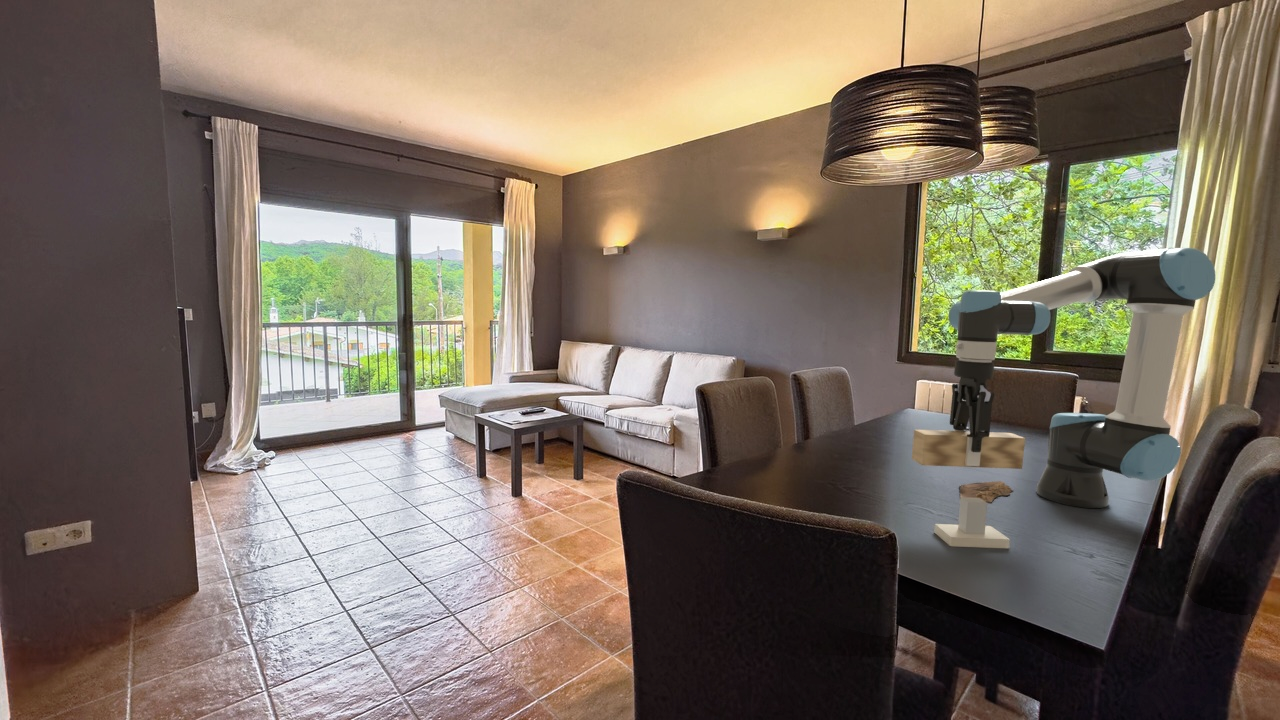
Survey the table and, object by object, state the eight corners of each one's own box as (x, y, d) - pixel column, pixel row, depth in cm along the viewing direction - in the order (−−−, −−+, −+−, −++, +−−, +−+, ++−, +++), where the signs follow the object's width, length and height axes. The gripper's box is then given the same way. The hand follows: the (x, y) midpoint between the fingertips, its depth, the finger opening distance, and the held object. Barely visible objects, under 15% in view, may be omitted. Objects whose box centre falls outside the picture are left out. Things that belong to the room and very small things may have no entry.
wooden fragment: (984, 507, 139) (984, 503, 139) (940, 494, 148) (941, 490, 148) (1027, 489, 154) (1027, 485, 154) (985, 479, 163) (985, 475, 163)
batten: (1007, 462, 126) (1010, 432, 126) (1022, 468, 121) (1025, 438, 121) (911, 458, 127) (914, 429, 126) (922, 465, 122) (924, 434, 121)
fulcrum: (989, 534, 121) (992, 495, 121) (1009, 548, 115) (1012, 507, 114) (934, 532, 122) (937, 493, 121) (950, 546, 115) (953, 505, 114)
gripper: (938, 355, 131) (930, 450, 133) (978, 363, 113) (968, 472, 115) (971, 357, 130) (962, 452, 133) (1016, 365, 112) (1006, 474, 115)
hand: (965, 461), depth 124 cm, fingers closed on batten, 5 cm apart
